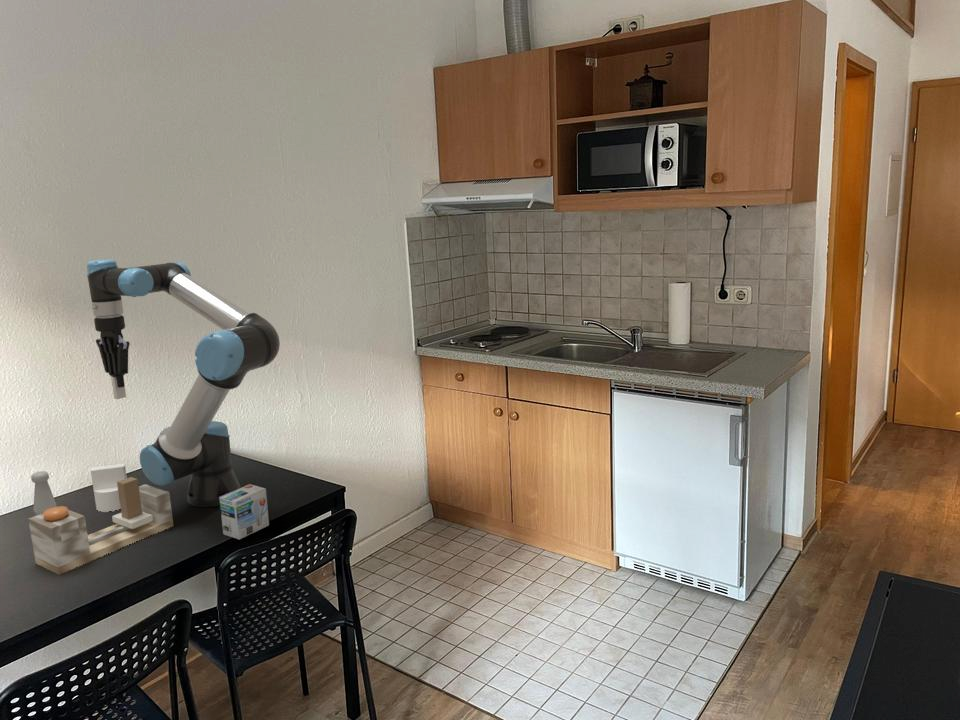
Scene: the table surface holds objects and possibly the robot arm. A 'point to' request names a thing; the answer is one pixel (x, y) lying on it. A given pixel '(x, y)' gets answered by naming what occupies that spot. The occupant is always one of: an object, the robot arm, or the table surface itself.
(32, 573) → the table surface
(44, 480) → the salt shaker
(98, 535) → the rail base
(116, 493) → the cylinder with rectangular tab
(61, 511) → the button
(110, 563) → the table surface
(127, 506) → the carriage
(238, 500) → the light bulb box
